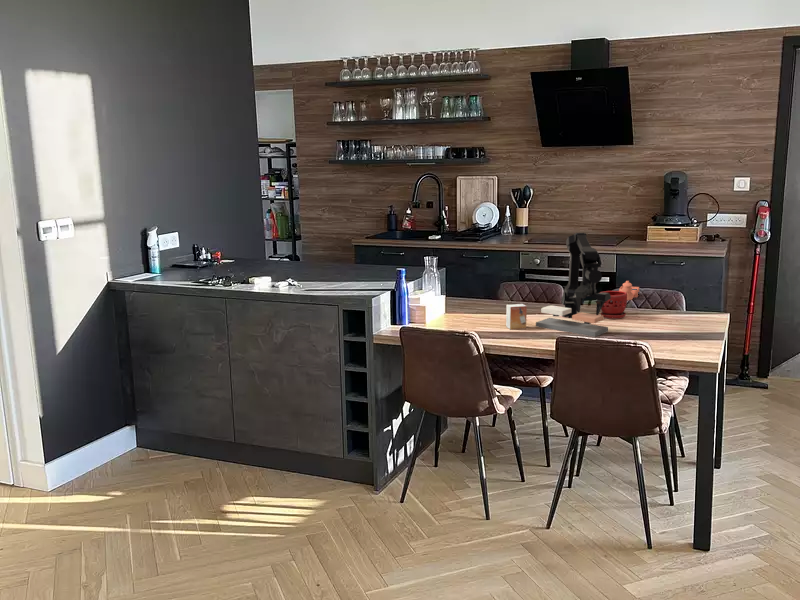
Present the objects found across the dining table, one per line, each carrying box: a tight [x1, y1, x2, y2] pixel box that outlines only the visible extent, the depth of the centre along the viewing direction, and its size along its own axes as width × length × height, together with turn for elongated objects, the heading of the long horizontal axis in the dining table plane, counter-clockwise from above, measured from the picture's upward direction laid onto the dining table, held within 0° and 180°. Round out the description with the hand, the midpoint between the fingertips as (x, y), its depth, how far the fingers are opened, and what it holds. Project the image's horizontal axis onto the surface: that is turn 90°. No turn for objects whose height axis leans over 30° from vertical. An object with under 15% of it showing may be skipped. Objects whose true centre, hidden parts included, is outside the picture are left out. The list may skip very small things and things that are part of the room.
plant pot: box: [599, 290, 628, 320], centre depth 377 cm, size 13×13×12 cm
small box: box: [505, 303, 528, 330], centre depth 360 cm, size 8×6×10 cm
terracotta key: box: [571, 311, 604, 324], centre depth 350 cm, size 8×11×4 cm
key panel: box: [535, 317, 609, 337], centre depth 356 cm, size 12×30×2 cm, turn 48°
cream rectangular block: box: [540, 305, 572, 318], centre depth 360 cm, size 8×11×4 cm
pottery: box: [618, 280, 640, 301], centre depth 424 cm, size 18×10×10 cm, turn 157°
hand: (587, 313), depth 350 cm, fingers open, 9 cm apart
